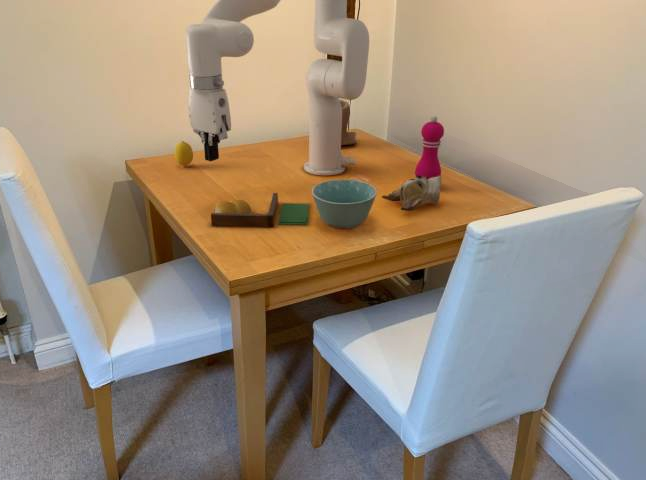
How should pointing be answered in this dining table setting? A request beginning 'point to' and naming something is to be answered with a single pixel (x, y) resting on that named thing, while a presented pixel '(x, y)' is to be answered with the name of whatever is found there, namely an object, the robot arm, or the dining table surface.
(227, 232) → the dining table surface
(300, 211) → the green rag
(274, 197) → the corner guide
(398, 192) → the ceramic sculpture
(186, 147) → the lemon
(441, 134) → the pepper mill
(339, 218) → the bowl
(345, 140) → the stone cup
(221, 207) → the bread roll
